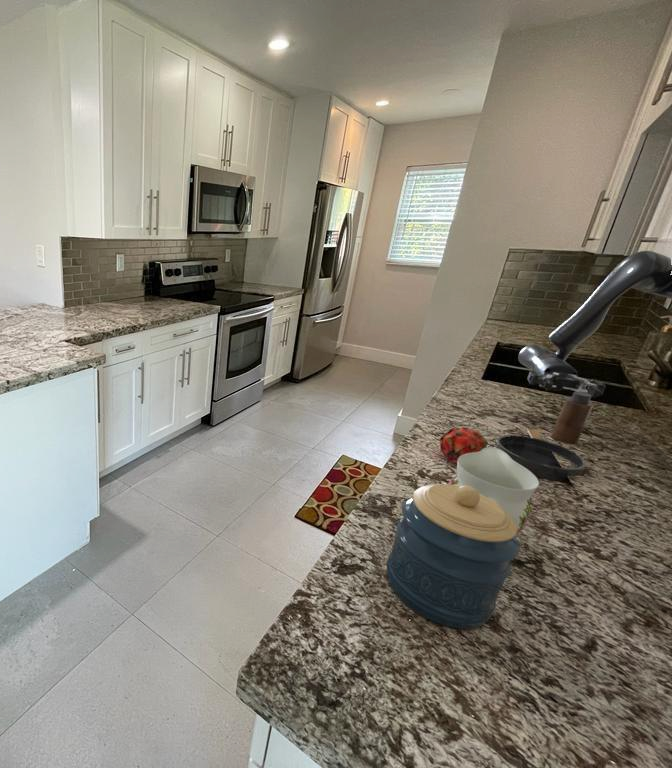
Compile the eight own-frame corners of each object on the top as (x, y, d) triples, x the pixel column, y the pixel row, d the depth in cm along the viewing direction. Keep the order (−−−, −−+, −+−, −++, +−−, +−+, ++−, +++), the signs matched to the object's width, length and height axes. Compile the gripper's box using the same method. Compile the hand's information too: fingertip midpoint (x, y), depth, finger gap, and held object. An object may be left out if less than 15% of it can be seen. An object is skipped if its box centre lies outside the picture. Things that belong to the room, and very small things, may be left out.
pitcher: (430, 557, 65) (454, 484, 60) (437, 501, 79) (457, 438, 74) (519, 591, 59) (553, 513, 54) (509, 524, 73) (536, 457, 68)
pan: (568, 459, 95) (573, 445, 94) (590, 492, 83) (597, 477, 82) (487, 442, 103) (492, 429, 101) (497, 470, 90) (502, 456, 89)
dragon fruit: (470, 459, 97) (448, 482, 91) (442, 430, 100) (419, 450, 94) (503, 443, 91) (482, 467, 84) (473, 413, 94) (450, 434, 87)
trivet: (585, 442, 103) (587, 439, 103) (603, 464, 94) (605, 460, 93) (525, 431, 109) (526, 427, 109) (535, 450, 99) (537, 446, 99)
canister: (514, 619, 55) (563, 510, 49) (440, 643, 51) (482, 530, 45) (429, 550, 66) (460, 456, 60) (364, 566, 63) (390, 467, 57)
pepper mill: (572, 441, 102) (592, 392, 97) (578, 449, 98) (600, 399, 93) (547, 436, 104) (566, 388, 100) (552, 443, 100) (572, 394, 96)
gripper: (526, 356, 117) (540, 371, 104) (594, 364, 111) (618, 381, 97) (518, 380, 120) (530, 398, 107) (583, 390, 113) (605, 410, 100)
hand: (572, 390), depth 102 cm, fingers open, 8 cm apart
